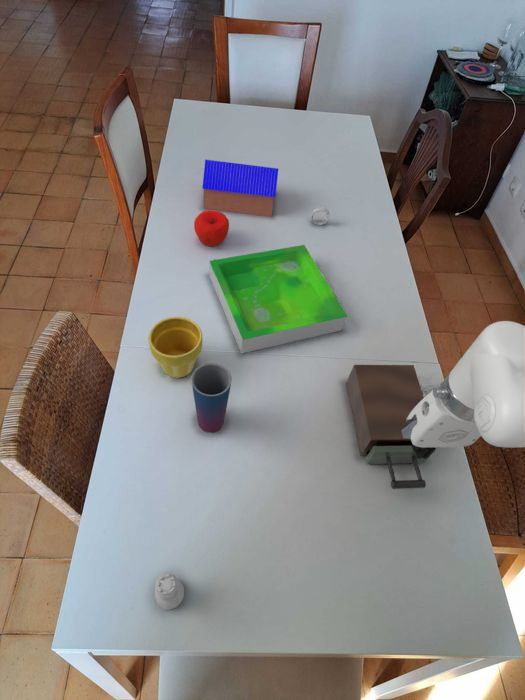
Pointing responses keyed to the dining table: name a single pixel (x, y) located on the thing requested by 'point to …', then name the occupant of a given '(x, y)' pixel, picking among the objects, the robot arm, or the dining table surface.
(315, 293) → the tray
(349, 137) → the dining table surface
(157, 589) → the rook chess piece
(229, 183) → the house
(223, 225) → the apple
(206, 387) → the cup
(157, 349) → the flower pot
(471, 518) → the dining table surface
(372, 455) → the drawer
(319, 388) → the dining table surface
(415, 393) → the cabinet
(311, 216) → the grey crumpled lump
